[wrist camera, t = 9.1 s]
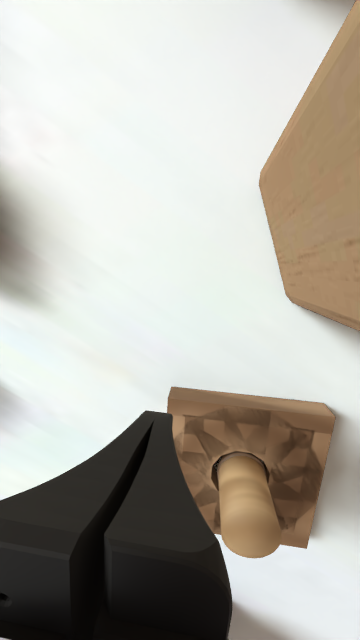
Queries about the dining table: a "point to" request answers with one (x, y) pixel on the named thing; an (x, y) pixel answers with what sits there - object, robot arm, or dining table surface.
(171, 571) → the robot arm
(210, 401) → the board
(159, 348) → the dining table surface
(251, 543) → the peg
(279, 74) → the dining table surface
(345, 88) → the wooden block
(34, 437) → the dining table surface
